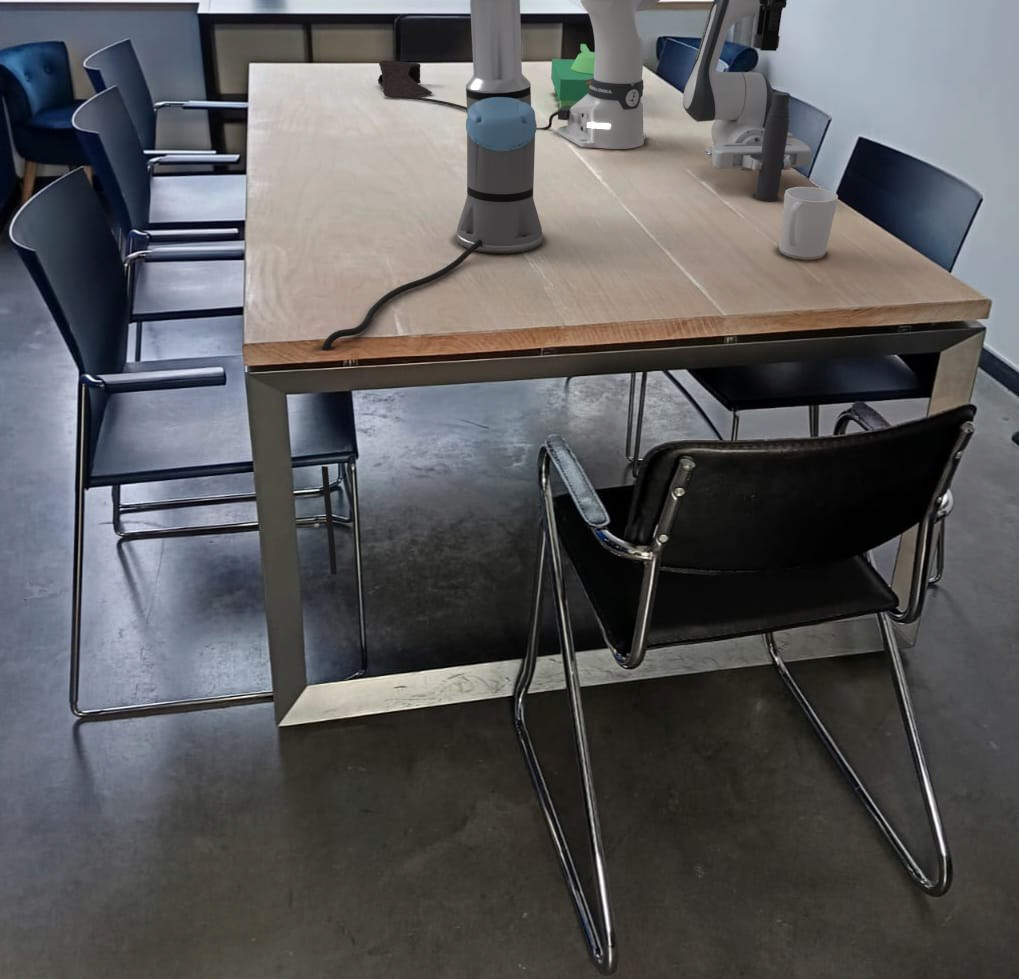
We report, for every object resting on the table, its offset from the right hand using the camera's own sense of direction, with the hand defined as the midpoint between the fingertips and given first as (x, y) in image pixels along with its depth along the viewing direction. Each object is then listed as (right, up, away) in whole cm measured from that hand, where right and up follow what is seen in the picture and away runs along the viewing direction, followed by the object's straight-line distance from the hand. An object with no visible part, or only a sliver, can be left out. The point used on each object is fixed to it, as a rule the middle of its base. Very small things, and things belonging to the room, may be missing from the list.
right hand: (773, 166), depth 217 cm
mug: (-1, -23, -25) cm, 34 cm away
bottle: (0, -5, +4) cm, 7 cm away
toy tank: (-32, +41, +78) cm, 93 cm away
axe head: (-82, +45, +83) cm, 125 cm away
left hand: (-7, +13, -25) cm, 29 cm away
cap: (-7, +15, -26) cm, 31 cm away
